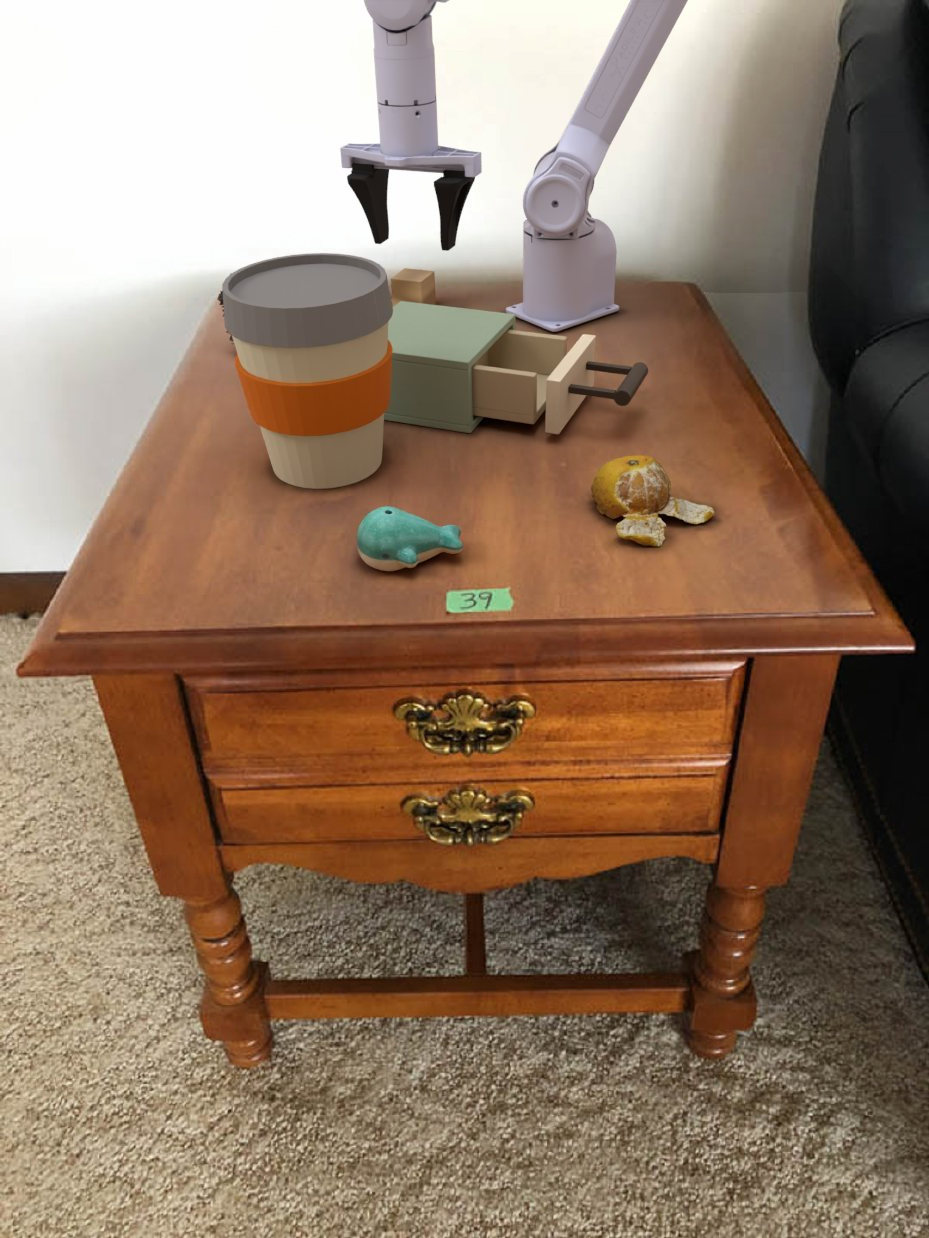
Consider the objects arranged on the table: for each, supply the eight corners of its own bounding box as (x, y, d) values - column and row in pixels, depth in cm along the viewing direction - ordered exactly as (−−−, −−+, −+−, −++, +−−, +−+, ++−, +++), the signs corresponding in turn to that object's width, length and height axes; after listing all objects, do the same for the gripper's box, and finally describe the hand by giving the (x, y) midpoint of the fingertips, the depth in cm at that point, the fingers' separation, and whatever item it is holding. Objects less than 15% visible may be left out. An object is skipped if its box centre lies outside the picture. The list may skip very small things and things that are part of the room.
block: (436, 304, 113) (434, 271, 111) (422, 315, 110) (421, 282, 108) (406, 300, 114) (404, 268, 112) (392, 311, 111) (390, 278, 109)
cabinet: (515, 381, 96) (515, 314, 92) (470, 433, 88) (468, 362, 84) (405, 365, 100) (400, 300, 96) (351, 415, 91) (343, 346, 87)
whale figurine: (360, 537, 75) (355, 491, 73) (461, 532, 75) (459, 486, 73) (357, 582, 70) (352, 535, 68) (465, 577, 70) (463, 529, 68)
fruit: (637, 555, 72) (641, 509, 70) (561, 507, 77) (563, 463, 75) (721, 517, 76) (727, 473, 73) (643, 474, 81) (647, 431, 79)
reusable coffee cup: (256, 432, 89) (226, 257, 80) (401, 422, 90) (387, 247, 81) (244, 506, 79) (209, 315, 70) (407, 494, 80) (393, 303, 71)
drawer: (651, 393, 91) (656, 342, 88) (621, 444, 83) (624, 390, 81) (486, 371, 96) (485, 322, 93) (443, 417, 88) (440, 365, 86)
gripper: (320, 105, 98) (335, 249, 107) (461, 113, 94) (465, 262, 102) (353, 91, 104) (365, 230, 112) (488, 98, 99) (490, 242, 107)
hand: (414, 244), depth 107 cm, fingers open, 7 cm apart
